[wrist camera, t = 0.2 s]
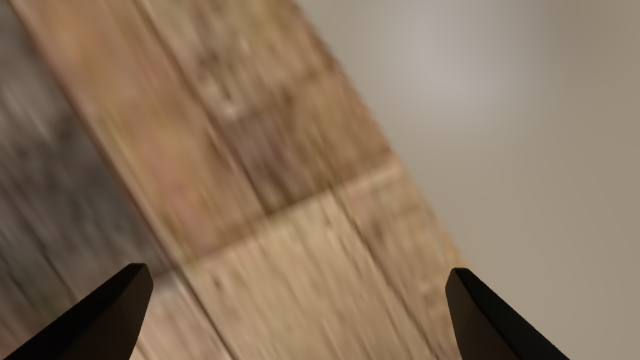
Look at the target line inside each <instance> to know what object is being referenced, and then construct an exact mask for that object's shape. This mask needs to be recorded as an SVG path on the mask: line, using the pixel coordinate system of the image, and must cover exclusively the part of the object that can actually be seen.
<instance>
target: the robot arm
mask: <svg viewBox="0 0 640 360" xmlns="http://www.w3.org/2000/svg"><path fill="white" fill-rule="evenodd" d="M152 291H153V280H152V277H151V274H150V271H149V269H148V266H147V265H146V264H145V263H130V264H128V265H127V266H126V267H124V268H123V269H122V270H120V271H119V272H118V273H116V274H115V275H114V276H112V277H111V278H110V279H109V280H107V281H106V282H105V283H103V284H102V285H101V286H99V287H98V288H97V289H95V290H94V291H93V292H91V293H90V294H89V295H87V296H86V297H85V298H83V299H82V300H81V301H80V302H78V303H77V304H76V305H74V306H73V307H72V308H70V309H69V310H68V311H66V312H65V313H64V314H62V315H61V316H60V317H58V318H57V319H56V320H54V321H53V322H52V323H50V324H49V325H48V326H47V327H45V328H44V329H43V330H41V331H40V332H39V333H37V334H36V335H35V336H33V337H32V338H31V339H29V340H28V341H27V342H25V343H24V344H23V345H21V346H20V347H19V348H18V349H16V350H15V351H14V352H12V353H11V354H10V355H8V356H7V357H6V358H4V359H3V360H129V359H130V356H131V354H132V352H133V349H134V347H135V344H136V342H137V339H138V336H139V333H140V330H141V327H142V323H143V320H144V317H145V314H146V310H147V307H148V304H149V301H150V297H151V294H152ZM445 292H446V297H447V302H448V306H449V311H450V315H451V319H452V324H453V328H454V333H455V337H456V341H457V345H458V348H459V351H460V354H461V357H462V360H570V359H569V358H567V357H566V356H565V355H564V354H563V353H562V352H561V351H560V350H558V349H557V348H556V347H555V346H554V345H553V344H552V343H551V342H550V341H549V340H547V339H546V338H545V337H544V336H543V335H542V334H541V333H539V332H538V331H537V330H536V329H535V328H534V327H533V326H532V325H531V324H529V323H528V322H527V321H526V320H525V319H524V318H523V317H522V316H521V315H519V314H518V313H517V312H516V311H515V310H514V309H513V308H512V307H510V306H509V305H508V304H507V303H506V302H505V301H504V300H503V299H501V298H500V297H499V296H498V295H497V294H496V293H495V292H493V291H492V290H491V289H490V288H489V287H488V286H487V285H486V284H485V283H484V282H482V281H481V280H480V279H479V278H478V277H477V276H476V275H475V274H473V273H472V272H471V271H470V270H469V269H467V268H453V269H452V270H451V272H450V275H449V277H448V280H447V283H446V286H445Z"/></svg>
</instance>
